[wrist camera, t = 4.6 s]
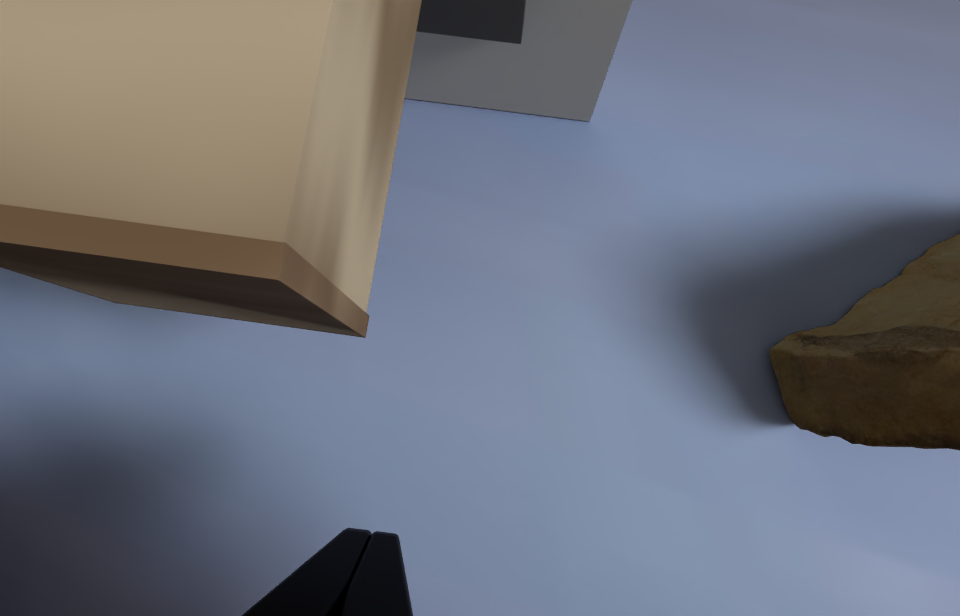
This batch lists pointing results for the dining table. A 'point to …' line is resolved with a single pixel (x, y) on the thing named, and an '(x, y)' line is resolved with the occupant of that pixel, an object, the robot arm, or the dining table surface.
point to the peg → (203, 151)
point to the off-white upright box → (516, 54)
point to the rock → (884, 362)
